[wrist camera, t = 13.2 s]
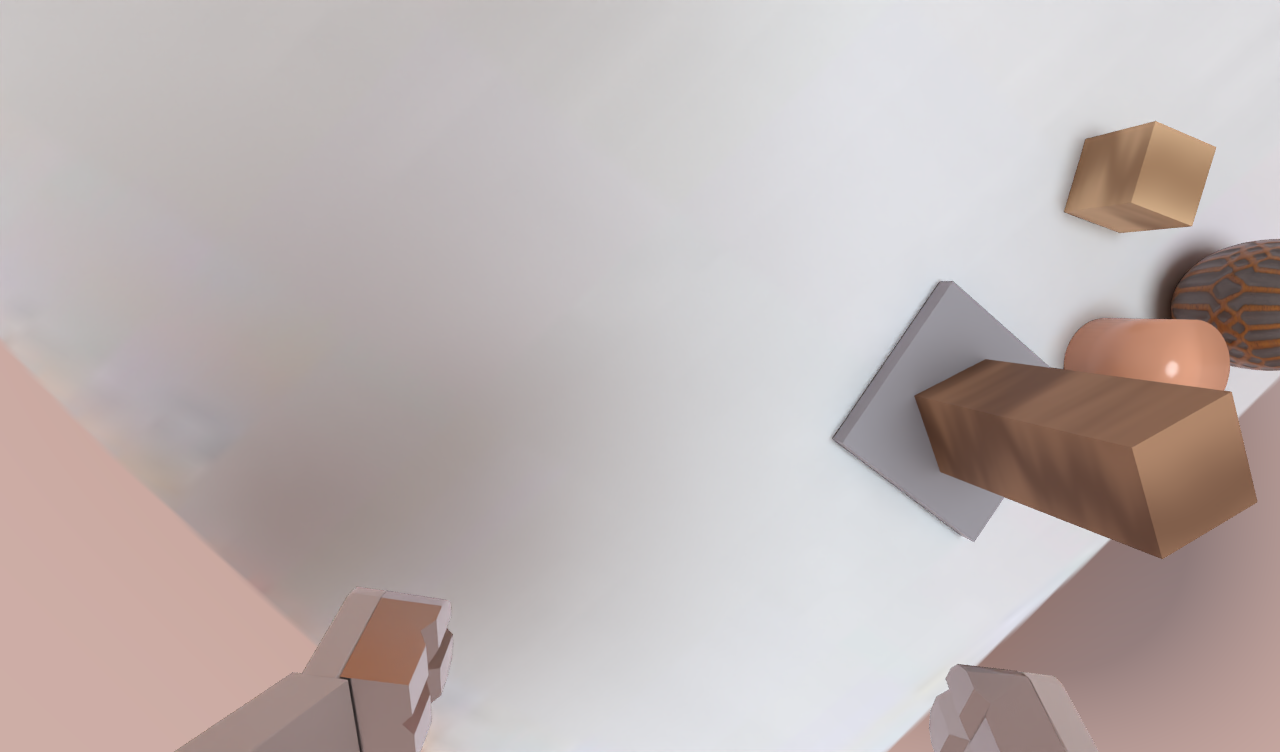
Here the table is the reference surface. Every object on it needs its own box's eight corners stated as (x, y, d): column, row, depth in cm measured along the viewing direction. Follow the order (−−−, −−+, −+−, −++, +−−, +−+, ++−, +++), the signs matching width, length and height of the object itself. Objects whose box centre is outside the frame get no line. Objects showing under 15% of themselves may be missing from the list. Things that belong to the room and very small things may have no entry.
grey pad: (940, 281, 35) (953, 281, 34) (1060, 387, 38) (1075, 390, 37) (832, 438, 35) (842, 442, 34) (961, 535, 38) (974, 541, 37)
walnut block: (914, 395, 35) (1132, 447, 23) (985, 359, 35) (1231, 391, 24) (940, 472, 36) (1162, 559, 24) (1009, 434, 36) (1257, 502, 25)
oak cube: (1084, 139, 36) (1155, 121, 33) (1140, 162, 37) (1216, 147, 34) (1062, 212, 37) (1131, 202, 33) (1119, 233, 38) (1192, 226, 34)
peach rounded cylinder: (1089, 302, 38) (1177, 301, 33) (1151, 342, 39) (1245, 347, 34) (1049, 382, 38) (1131, 393, 33) (1112, 420, 39) (1201, 436, 34)
